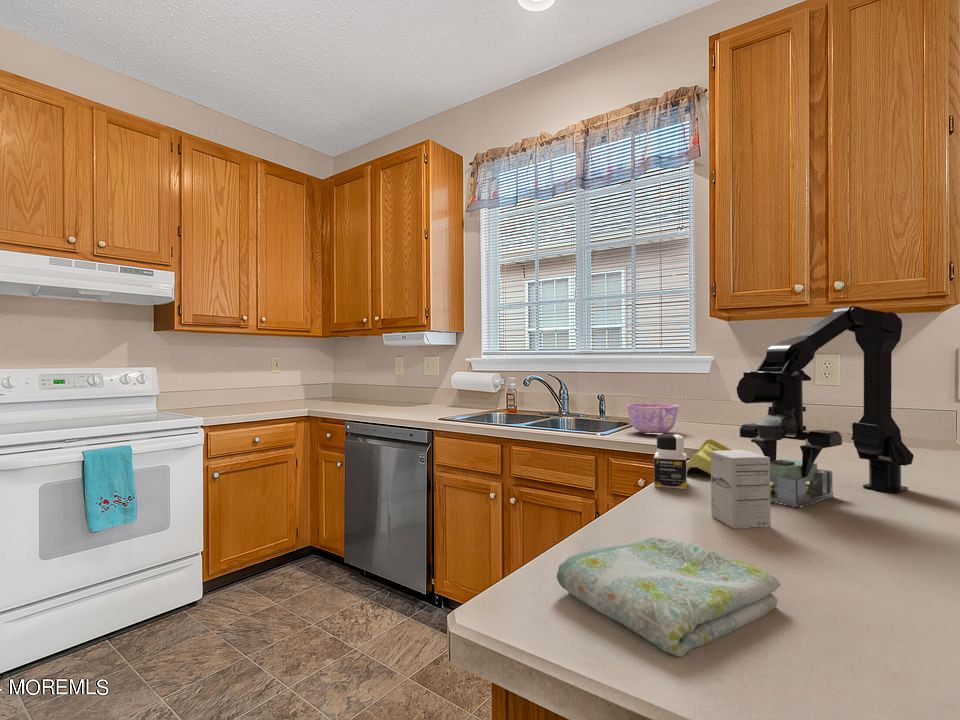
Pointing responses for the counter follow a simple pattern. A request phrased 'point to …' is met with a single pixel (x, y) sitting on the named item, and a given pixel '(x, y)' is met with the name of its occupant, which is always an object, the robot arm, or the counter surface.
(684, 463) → the medicine bottle
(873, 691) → the counter surface
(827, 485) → the chassis
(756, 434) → the robot arm
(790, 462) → the green block
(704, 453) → the plastic component
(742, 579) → the towel
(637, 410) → the purple round bowl
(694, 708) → the counter surface
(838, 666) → the counter surface
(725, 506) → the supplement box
